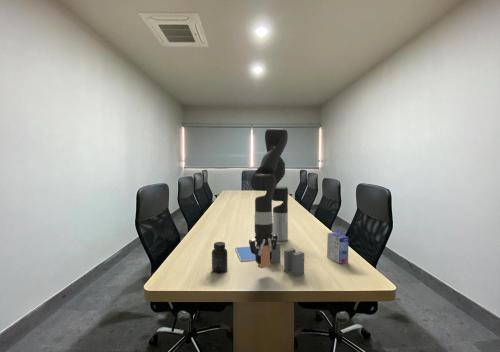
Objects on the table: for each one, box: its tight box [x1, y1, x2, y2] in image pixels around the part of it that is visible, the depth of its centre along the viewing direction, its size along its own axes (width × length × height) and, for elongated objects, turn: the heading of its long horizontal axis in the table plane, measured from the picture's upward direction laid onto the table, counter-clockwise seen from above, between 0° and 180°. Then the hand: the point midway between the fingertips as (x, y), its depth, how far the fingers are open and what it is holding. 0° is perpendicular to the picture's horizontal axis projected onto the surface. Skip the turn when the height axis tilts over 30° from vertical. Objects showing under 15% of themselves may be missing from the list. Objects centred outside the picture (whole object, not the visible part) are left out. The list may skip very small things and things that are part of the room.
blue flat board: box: [234, 246, 256, 263], centre depth 124 cm, size 19×13×1 cm, turn 12°
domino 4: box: [291, 251, 305, 278], centre depth 99 cm, size 2×5×9 cm, turn 125°
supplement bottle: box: [211, 241, 229, 274], centre depth 104 cm, size 7×7×12 cm
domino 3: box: [283, 248, 297, 273], centre depth 103 cm, size 2×5×9 cm, turn 125°
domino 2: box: [270, 241, 281, 266], centre depth 111 cm, size 2×5×9 cm, turn 125°
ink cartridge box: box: [326, 228, 349, 264], centre depth 114 cm, size 10×6×14 cm, turn 15°
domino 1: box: [257, 245, 271, 269], centre depth 99 cm, size 2×5×9 cm, turn 125°
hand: (263, 261), depth 99 cm, fingers closed on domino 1, 5 cm apart
